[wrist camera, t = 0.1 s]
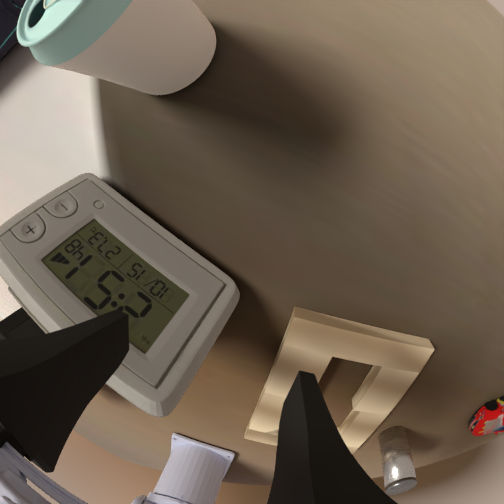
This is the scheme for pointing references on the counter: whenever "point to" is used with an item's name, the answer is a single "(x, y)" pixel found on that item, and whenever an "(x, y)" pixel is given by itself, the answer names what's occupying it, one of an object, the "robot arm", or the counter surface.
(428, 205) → the counter surface
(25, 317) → the digital camera
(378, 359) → the keyhole board
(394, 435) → the peg
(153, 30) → the can
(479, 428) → the race car
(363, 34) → the counter surface
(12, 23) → the portable speaker
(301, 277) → the counter surface
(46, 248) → the digital clock
